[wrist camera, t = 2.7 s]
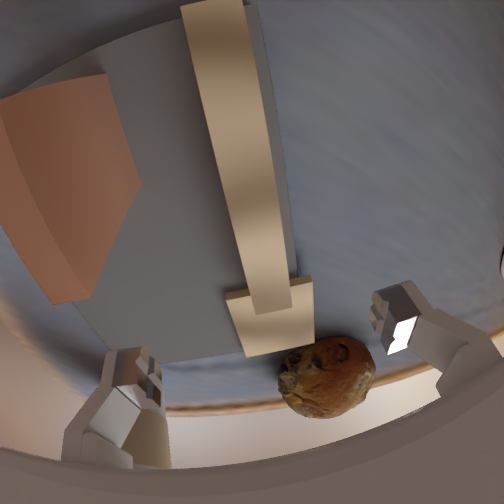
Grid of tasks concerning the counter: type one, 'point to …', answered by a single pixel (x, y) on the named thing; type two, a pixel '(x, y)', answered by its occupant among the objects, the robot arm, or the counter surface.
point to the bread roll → (327, 377)
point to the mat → (172, 200)
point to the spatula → (247, 180)
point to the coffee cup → (150, 438)
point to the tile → (64, 182)
